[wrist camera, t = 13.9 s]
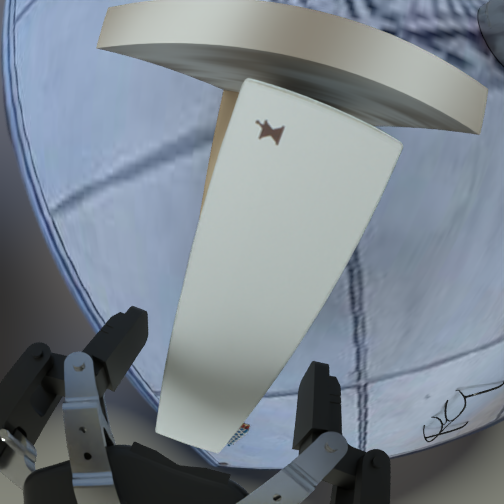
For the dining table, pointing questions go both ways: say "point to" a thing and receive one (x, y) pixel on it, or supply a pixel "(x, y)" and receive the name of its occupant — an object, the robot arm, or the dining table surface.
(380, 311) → the dining table surface
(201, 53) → the wooden bookend
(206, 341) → the skincare box
